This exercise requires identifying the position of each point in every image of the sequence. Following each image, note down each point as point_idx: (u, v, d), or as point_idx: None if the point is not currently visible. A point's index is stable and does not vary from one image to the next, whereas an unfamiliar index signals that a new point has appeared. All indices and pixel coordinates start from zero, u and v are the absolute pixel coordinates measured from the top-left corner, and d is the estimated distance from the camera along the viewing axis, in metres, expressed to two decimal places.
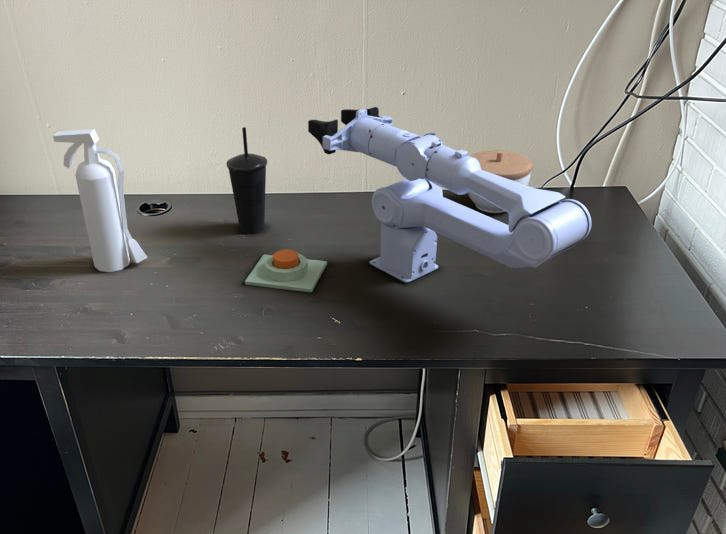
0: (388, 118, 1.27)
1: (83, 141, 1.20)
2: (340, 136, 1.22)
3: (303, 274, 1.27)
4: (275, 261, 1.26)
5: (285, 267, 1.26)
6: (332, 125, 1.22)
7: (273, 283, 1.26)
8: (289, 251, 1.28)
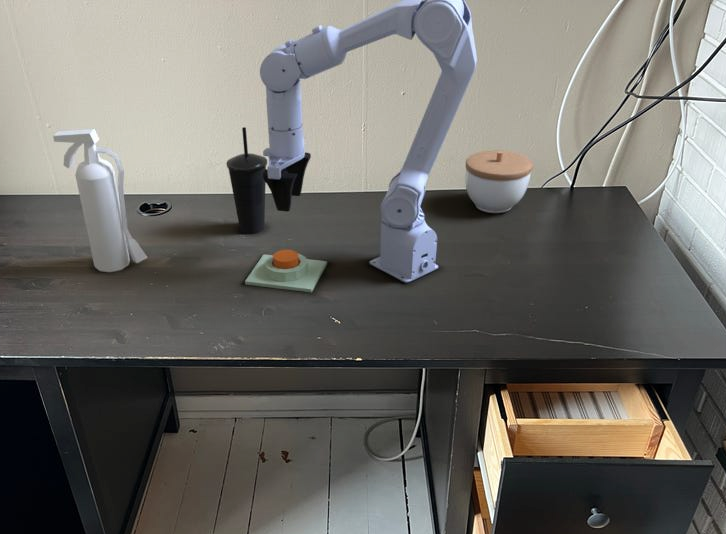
0: None
1: (83, 141, 1.20)
2: (273, 162, 1.20)
3: (303, 274, 1.27)
4: (275, 261, 1.26)
5: (285, 267, 1.26)
6: (266, 172, 1.22)
7: (273, 283, 1.26)
8: (289, 251, 1.28)
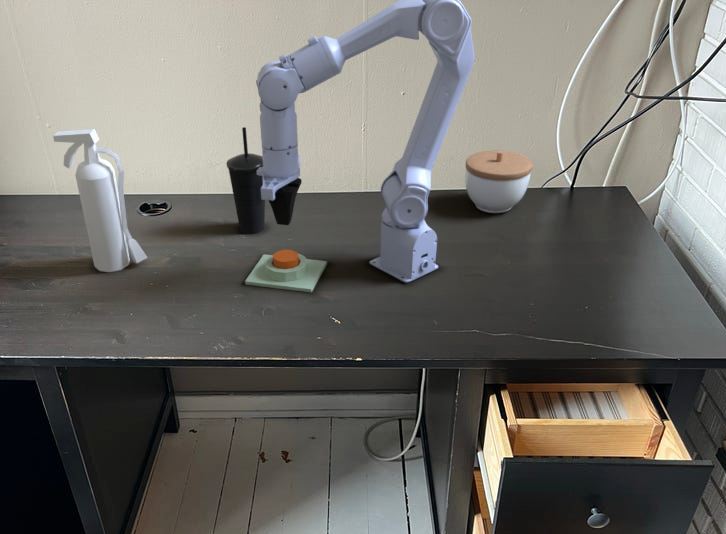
0: None
1: (83, 141, 1.20)
2: (267, 182, 1.15)
3: (303, 274, 1.27)
4: (275, 261, 1.26)
5: (285, 267, 1.26)
6: None
7: (273, 283, 1.26)
8: (289, 251, 1.28)
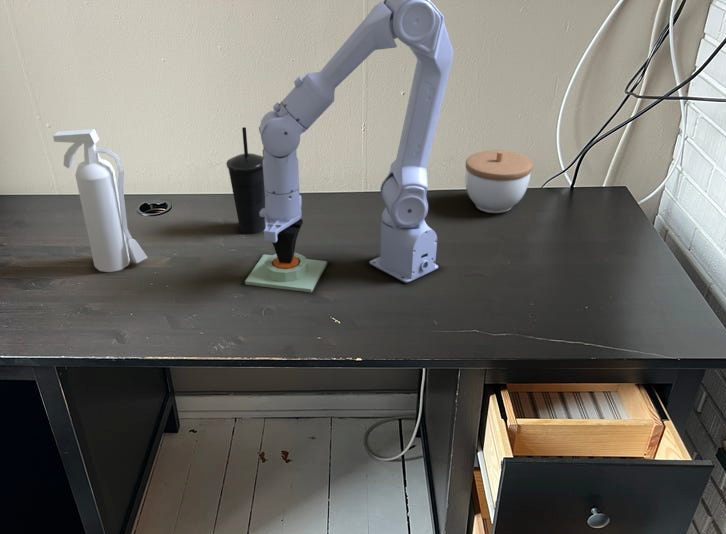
0: None
1: (83, 141, 1.20)
2: (270, 225, 1.19)
3: (303, 274, 1.27)
4: None
5: None
6: None
7: (273, 283, 1.26)
8: None
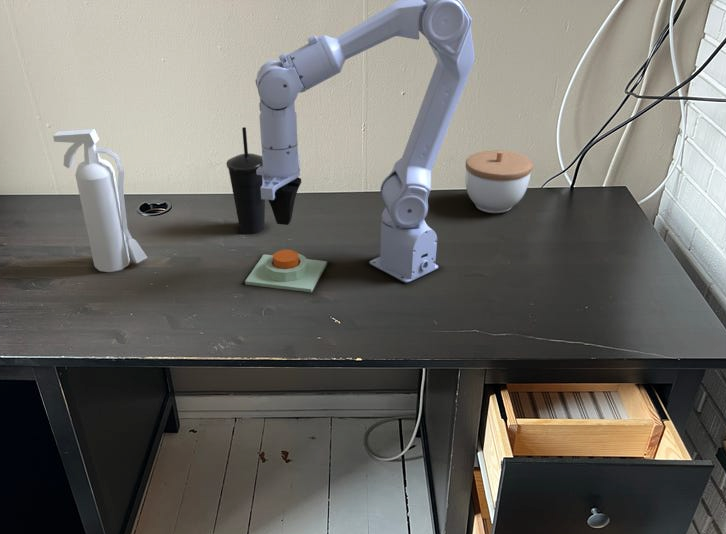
0: None
1: (83, 141, 1.20)
2: (267, 182, 1.15)
3: (303, 274, 1.27)
4: (275, 261, 1.26)
5: (285, 267, 1.26)
6: None
7: (273, 283, 1.26)
8: (289, 251, 1.28)
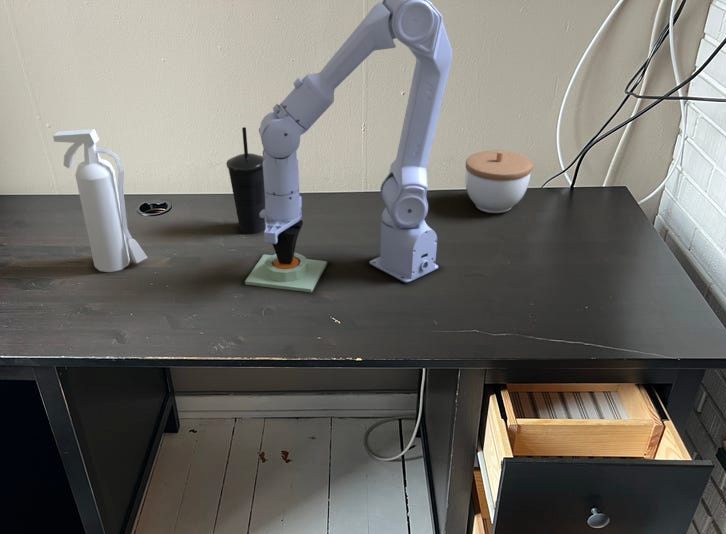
0: None
1: (83, 141, 1.20)
2: (270, 226, 1.19)
3: (303, 274, 1.27)
4: None
5: None
6: None
7: (273, 283, 1.26)
8: None
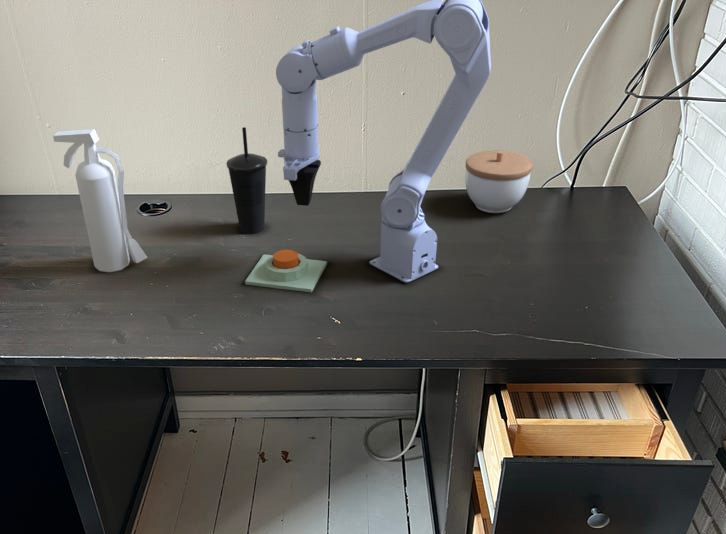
0: None
1: (83, 141, 1.20)
2: (289, 163, 1.19)
3: (303, 274, 1.27)
4: (275, 261, 1.26)
5: (285, 267, 1.26)
6: None
7: (273, 283, 1.26)
8: (289, 251, 1.28)
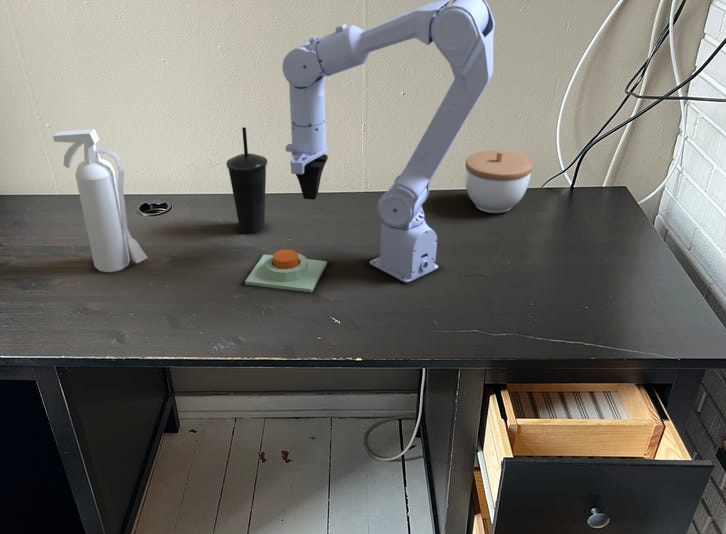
0: None
1: (83, 141, 1.20)
2: (296, 157, 1.21)
3: (303, 274, 1.27)
4: (275, 261, 1.26)
5: (285, 267, 1.26)
6: None
7: (273, 283, 1.26)
8: (289, 251, 1.28)
